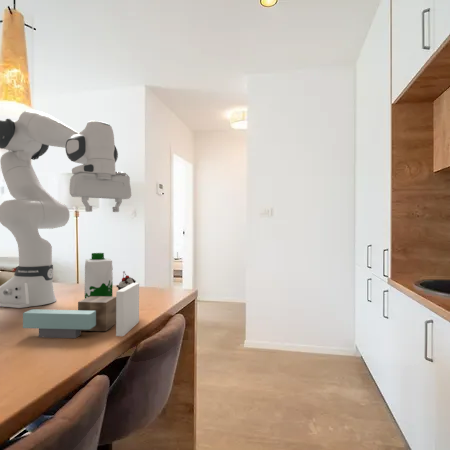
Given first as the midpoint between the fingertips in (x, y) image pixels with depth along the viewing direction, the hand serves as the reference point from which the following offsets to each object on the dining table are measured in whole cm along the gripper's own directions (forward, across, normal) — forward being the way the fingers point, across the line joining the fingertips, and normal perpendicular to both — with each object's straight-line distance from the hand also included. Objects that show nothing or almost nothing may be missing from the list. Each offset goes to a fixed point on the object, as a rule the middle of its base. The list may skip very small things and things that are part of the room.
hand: (102, 211), depth 117 cm
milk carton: (+34, 0, -5) cm, 35 cm away
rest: (+34, +19, +11) cm, 41 cm away
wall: (+35, +2, +18) cm, 39 cm away
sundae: (+35, -4, +6) cm, 35 cm away
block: (+34, +8, +11) cm, 37 cm away
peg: (+32, +19, +11) cm, 39 cm away
